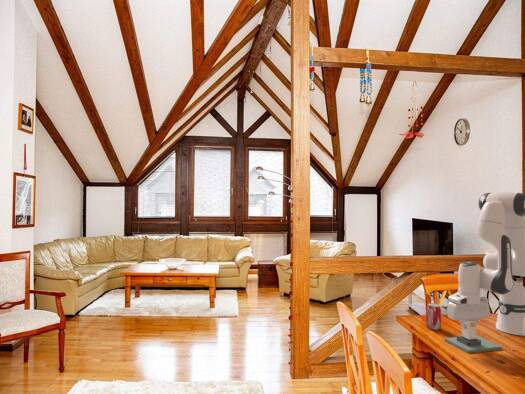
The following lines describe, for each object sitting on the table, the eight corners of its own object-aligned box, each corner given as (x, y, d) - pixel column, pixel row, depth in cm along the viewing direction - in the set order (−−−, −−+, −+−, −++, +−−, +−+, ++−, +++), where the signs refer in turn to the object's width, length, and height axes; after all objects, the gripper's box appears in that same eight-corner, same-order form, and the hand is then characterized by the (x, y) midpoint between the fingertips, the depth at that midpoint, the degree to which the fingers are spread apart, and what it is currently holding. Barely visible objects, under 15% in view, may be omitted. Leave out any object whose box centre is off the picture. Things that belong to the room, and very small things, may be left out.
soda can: (442, 331, 185) (442, 307, 185) (427, 330, 186) (427, 306, 186) (439, 326, 192) (439, 303, 192) (424, 325, 193) (424, 302, 193)
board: (476, 337, 176) (476, 331, 176) (502, 349, 162) (502, 342, 162) (444, 340, 172) (444, 334, 172) (468, 353, 158) (468, 345, 158)
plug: (469, 335, 169) (469, 318, 169) (477, 339, 164) (477, 321, 165) (461, 336, 168) (461, 318, 168) (469, 339, 163) (469, 321, 164)
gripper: (482, 294, 172) (482, 324, 172) (445, 297, 167) (444, 327, 167) (493, 298, 166) (493, 328, 166) (455, 300, 161) (455, 332, 161)
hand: (468, 328), depth 166 cm, fingers closed on plug, 4 cm apart
